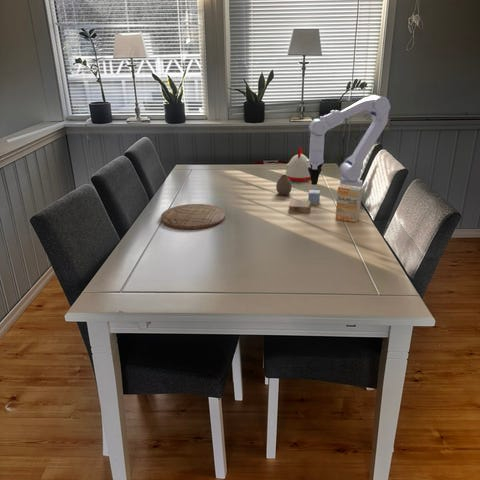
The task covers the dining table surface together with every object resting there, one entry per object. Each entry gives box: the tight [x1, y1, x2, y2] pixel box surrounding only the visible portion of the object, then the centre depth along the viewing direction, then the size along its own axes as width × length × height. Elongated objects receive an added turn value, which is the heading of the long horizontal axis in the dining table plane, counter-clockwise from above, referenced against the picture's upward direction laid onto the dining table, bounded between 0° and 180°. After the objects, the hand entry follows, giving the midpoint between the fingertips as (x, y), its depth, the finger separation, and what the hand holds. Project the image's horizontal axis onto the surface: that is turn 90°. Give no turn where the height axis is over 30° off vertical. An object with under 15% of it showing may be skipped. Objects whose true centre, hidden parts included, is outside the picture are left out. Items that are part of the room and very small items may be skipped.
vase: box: [275, 174, 293, 196], centre depth 201 cm, size 7×7×9 cm
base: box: [288, 199, 311, 214], centre depth 183 cm, size 8×8×3 cm
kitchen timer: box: [285, 147, 311, 182], centre depth 224 cm, size 14×14×15 cm
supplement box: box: [334, 184, 363, 223], centre depth 170 cm, size 8×5×13 cm, turn 62°
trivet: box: [160, 203, 226, 231], centre depth 176 cm, size 25×25×2 cm
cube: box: [307, 189, 321, 205], centre depth 191 cm, size 4×4×4 cm
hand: (314, 181), depth 189 cm, fingers open, 7 cm apart
